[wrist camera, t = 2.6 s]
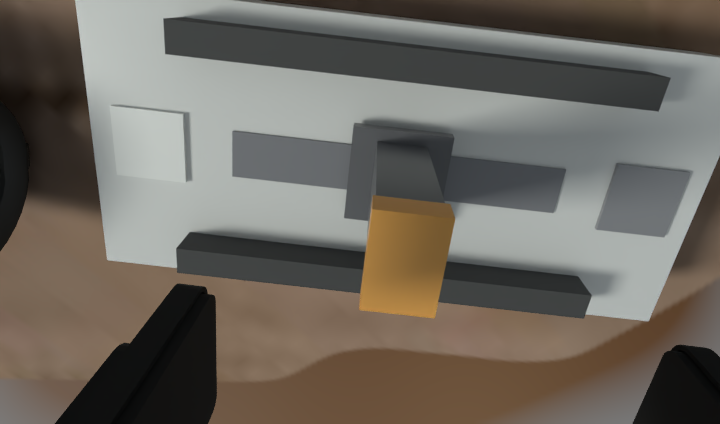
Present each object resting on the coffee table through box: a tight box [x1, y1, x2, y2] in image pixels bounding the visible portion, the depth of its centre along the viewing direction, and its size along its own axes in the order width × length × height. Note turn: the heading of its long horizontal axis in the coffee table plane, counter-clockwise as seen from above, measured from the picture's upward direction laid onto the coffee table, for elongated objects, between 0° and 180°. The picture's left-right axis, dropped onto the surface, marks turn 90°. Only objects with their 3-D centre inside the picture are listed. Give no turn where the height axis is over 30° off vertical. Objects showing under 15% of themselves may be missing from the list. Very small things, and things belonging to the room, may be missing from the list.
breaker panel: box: [75, 0, 720, 321], centre depth 22 cm, size 12×26×4 cm, turn 84°
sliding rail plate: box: [163, 17, 671, 318], centre depth 20 cm, size 10×18×2 cm, turn 84°
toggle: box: [344, 123, 455, 318], centre depth 17 cm, size 4×4×8 cm
